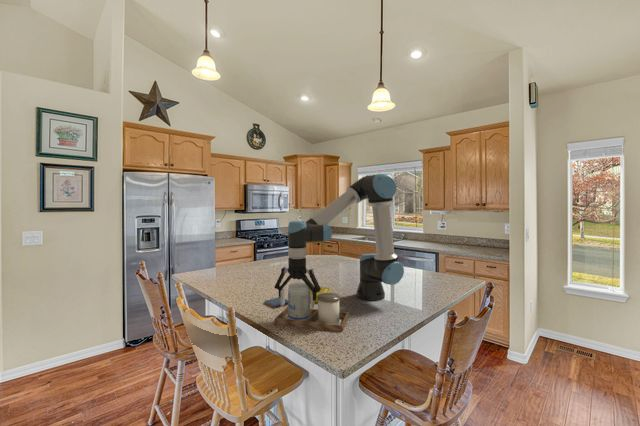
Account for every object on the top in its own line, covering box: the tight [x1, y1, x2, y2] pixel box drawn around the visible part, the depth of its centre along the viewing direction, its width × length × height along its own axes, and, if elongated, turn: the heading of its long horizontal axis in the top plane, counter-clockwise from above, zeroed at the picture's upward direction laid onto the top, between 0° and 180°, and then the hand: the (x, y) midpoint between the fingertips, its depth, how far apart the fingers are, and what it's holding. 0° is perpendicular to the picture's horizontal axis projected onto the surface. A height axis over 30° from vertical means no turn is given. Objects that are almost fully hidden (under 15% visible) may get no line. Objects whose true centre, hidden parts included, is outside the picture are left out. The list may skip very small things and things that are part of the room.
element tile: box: [310, 286, 332, 304], centre depth 160 cm, size 15×15×5 cm
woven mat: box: [263, 296, 288, 309], centre depth 151 cm, size 10×11×2 cm
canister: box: [317, 292, 341, 324], centre depth 125 cm, size 9×9×11 cm
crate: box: [274, 306, 350, 332], centre depth 127 cm, size 28×15×3 cm, turn 75°
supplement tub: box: [287, 282, 311, 321], centre depth 129 cm, size 10×10×15 cm
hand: (297, 306), depth 129 cm, fingers open, 13 cm apart
